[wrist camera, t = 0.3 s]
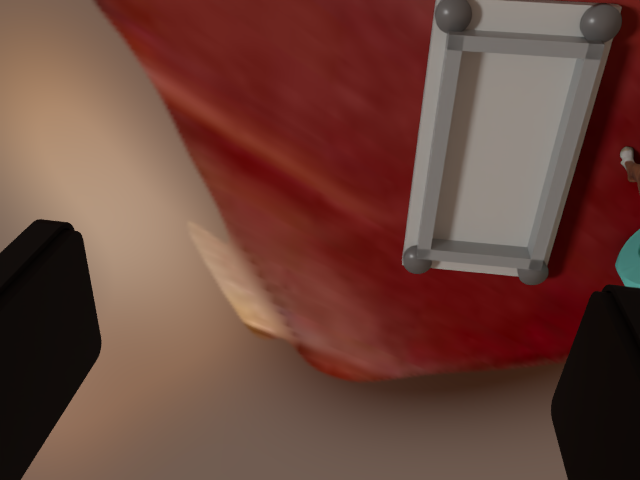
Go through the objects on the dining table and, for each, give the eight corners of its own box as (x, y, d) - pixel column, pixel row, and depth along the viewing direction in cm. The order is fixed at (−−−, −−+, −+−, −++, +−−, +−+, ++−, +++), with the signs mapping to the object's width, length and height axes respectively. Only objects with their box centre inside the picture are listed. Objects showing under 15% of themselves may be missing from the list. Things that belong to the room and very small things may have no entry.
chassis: (436, -10, 41) (438, -2, 38) (618, 1, 40) (631, 9, 37) (402, 260, 53) (401, 279, 51) (540, 273, 52) (546, 293, 49)
